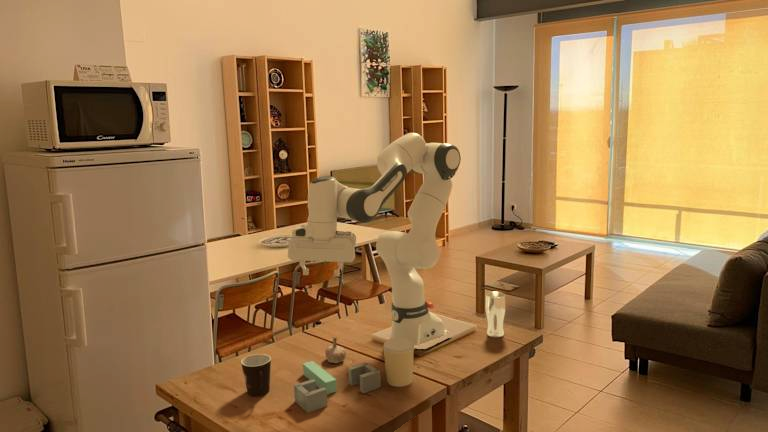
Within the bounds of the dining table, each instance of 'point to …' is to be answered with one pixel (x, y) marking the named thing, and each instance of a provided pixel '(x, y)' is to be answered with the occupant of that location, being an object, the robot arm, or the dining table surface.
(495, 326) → the beer glass
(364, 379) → the cap
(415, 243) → the robot arm
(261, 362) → the coffee mug
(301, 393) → the cap
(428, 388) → the dining table surface
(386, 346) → the coffee cup
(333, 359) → the garlic bulb
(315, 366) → the slat
